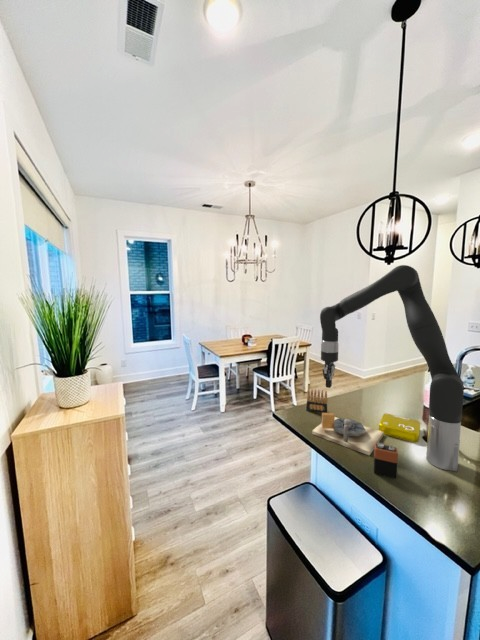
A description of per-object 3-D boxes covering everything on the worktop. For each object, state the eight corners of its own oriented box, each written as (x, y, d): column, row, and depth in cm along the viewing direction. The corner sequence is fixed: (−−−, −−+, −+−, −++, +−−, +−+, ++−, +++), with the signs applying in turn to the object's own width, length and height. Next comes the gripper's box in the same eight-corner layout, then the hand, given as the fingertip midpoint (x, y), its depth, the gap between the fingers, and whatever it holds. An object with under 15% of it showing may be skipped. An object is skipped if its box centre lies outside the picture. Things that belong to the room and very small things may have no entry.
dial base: (383, 435, 117) (384, 417, 116) (369, 455, 102) (370, 435, 101) (330, 418, 133) (331, 403, 132) (311, 434, 118) (312, 416, 117)
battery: (373, 466, 96) (374, 440, 95) (395, 471, 93) (396, 444, 92) (373, 474, 92) (375, 446, 91) (396, 479, 89) (398, 451, 88)
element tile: (420, 429, 122) (420, 419, 122) (418, 444, 110) (418, 433, 110) (383, 420, 131) (383, 411, 131) (378, 433, 119) (378, 423, 119)
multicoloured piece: (358, 422, 123) (359, 409, 122) (368, 436, 110) (369, 422, 110) (319, 419, 125) (319, 407, 125) (324, 434, 112) (325, 420, 112)
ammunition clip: (306, 410, 142) (306, 388, 141) (306, 409, 144) (306, 387, 143) (327, 413, 138) (327, 391, 137) (327, 412, 140) (327, 390, 139)
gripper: (325, 346, 129) (324, 381, 131) (317, 351, 118) (316, 389, 120) (341, 348, 125) (340, 384, 127) (334, 353, 114) (333, 393, 116)
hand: (328, 386), depth 123 cm, fingers closed
